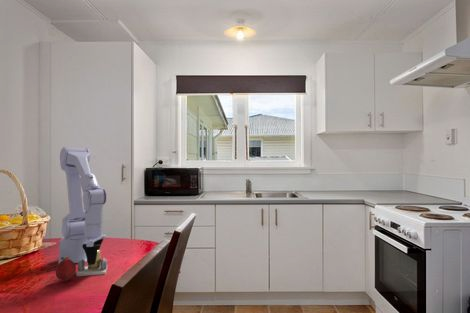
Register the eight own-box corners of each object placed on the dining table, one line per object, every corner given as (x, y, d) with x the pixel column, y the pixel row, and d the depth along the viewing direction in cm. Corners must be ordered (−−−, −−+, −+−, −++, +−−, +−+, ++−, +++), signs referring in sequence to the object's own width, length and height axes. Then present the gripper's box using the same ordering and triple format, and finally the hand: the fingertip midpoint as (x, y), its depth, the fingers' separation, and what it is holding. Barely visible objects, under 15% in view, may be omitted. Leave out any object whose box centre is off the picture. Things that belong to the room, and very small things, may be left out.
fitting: (76, 276, 107) (76, 263, 107) (80, 269, 114) (81, 256, 114) (104, 274, 109) (105, 261, 109) (107, 267, 116) (107, 255, 116)
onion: (61, 286, 98) (62, 260, 98) (51, 282, 101) (52, 257, 101) (79, 280, 103) (79, 256, 103) (69, 276, 106) (69, 252, 106)
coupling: (86, 270, 109) (86, 253, 108) (87, 265, 113) (87, 249, 113) (100, 269, 110) (101, 252, 110) (101, 264, 114) (101, 248, 114)
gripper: (103, 227, 105) (102, 268, 105) (108, 219, 119) (107, 255, 119) (80, 228, 104) (78, 269, 104) (88, 219, 118) (87, 256, 118)
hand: (92, 261), depth 111 cm, fingers closed on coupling, 5 cm apart
